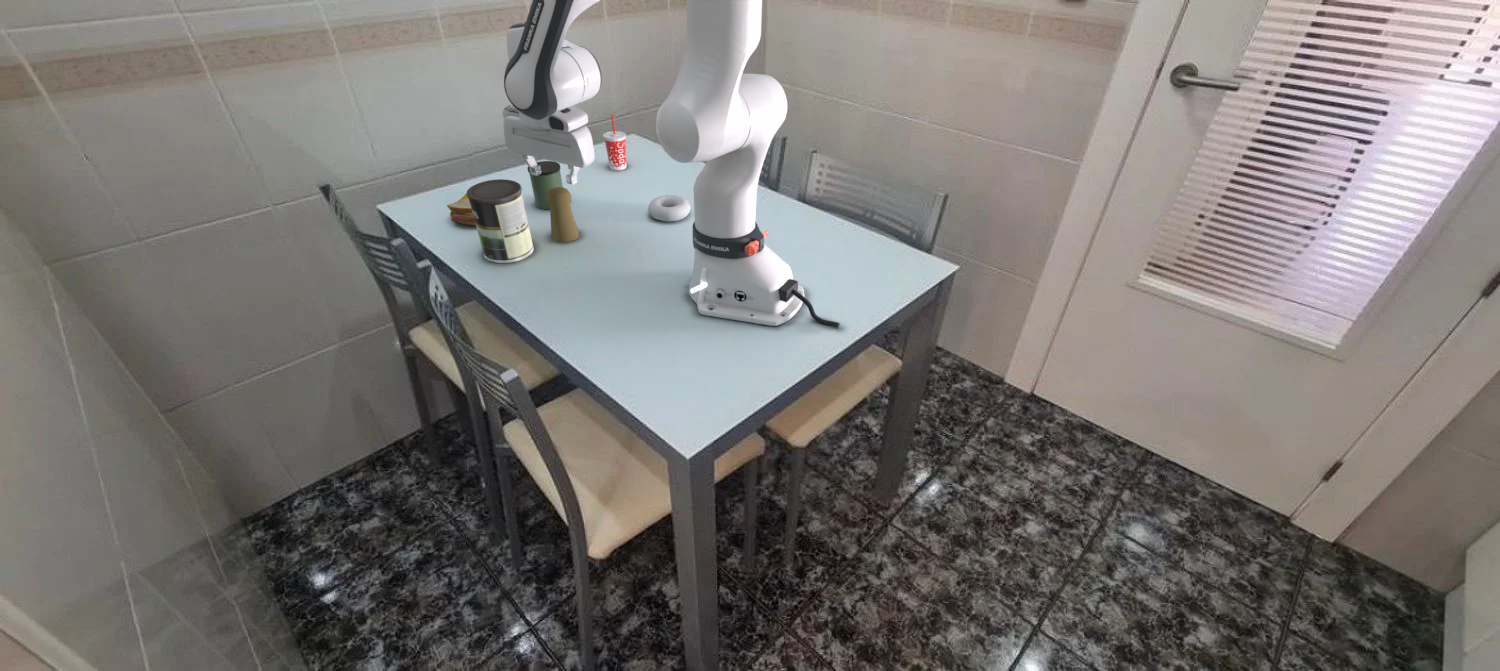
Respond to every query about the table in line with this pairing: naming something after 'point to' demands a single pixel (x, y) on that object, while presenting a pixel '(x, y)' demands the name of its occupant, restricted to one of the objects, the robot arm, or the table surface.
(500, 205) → the coffee can
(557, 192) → the cork
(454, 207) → the toy sandwich meal
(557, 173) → the olive tin
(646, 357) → the table surface
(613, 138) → the beverage cup
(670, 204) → the donut
